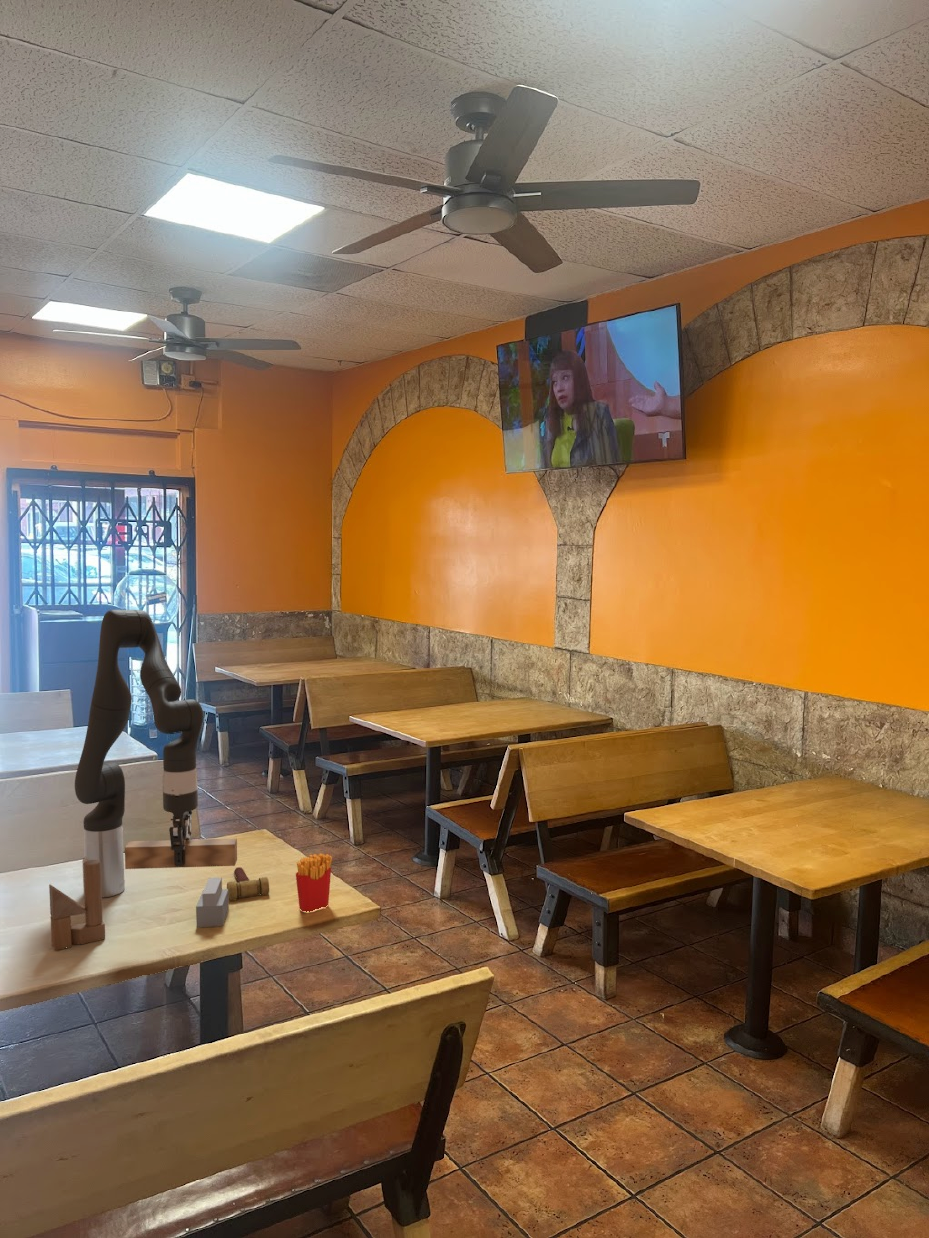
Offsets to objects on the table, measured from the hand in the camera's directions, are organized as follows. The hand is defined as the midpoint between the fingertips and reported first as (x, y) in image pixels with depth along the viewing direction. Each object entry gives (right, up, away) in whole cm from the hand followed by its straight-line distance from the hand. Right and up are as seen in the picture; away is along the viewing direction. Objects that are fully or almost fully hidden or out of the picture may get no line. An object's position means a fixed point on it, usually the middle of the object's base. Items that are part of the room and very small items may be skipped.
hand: (181, 861), depth 208 cm
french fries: (+28, -16, +17) cm, 36 cm away
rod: (0, -1, 0) cm, 1 cm away
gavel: (+6, -15, +32) cm, 36 cm away
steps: (+4, -16, +11) cm, 20 cm away
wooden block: (-23, -18, -2) cm, 29 cm away
